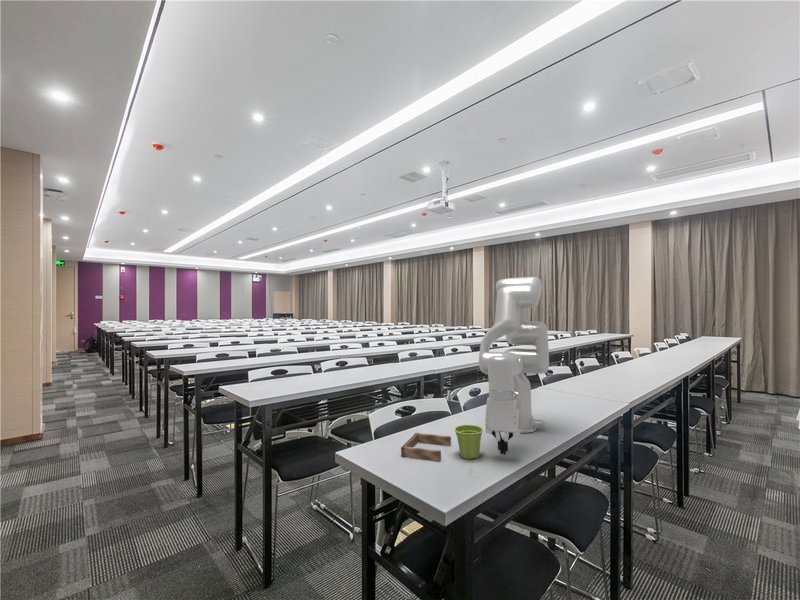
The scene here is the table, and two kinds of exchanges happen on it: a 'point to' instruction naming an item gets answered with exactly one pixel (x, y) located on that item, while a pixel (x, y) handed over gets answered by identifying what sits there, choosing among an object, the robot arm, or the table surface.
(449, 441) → the dock
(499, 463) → the table surface
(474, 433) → the plant pot
